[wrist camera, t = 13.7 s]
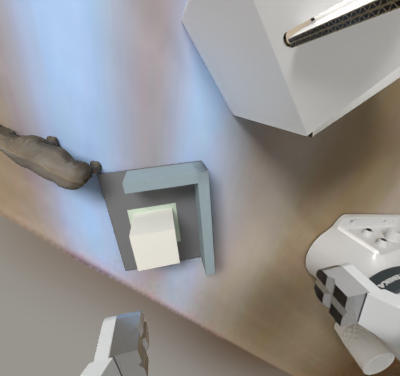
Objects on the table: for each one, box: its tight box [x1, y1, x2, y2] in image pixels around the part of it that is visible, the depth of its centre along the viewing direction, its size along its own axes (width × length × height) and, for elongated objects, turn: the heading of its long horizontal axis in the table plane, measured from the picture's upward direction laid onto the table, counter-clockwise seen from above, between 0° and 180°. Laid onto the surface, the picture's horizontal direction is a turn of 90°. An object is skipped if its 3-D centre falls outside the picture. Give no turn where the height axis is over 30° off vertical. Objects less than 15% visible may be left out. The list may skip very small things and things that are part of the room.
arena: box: [98, 161, 215, 275], centre depth 34 cm, size 15×18×5 cm
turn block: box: [129, 208, 180, 271], centre depth 33 cm, size 6×6×6 cm
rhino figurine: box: [0, 125, 101, 190], centre depth 26 cm, size 4×14×6 cm, turn 55°
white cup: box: [334, 322, 395, 375], centre depth 54 cm, size 8×8×10 cm
